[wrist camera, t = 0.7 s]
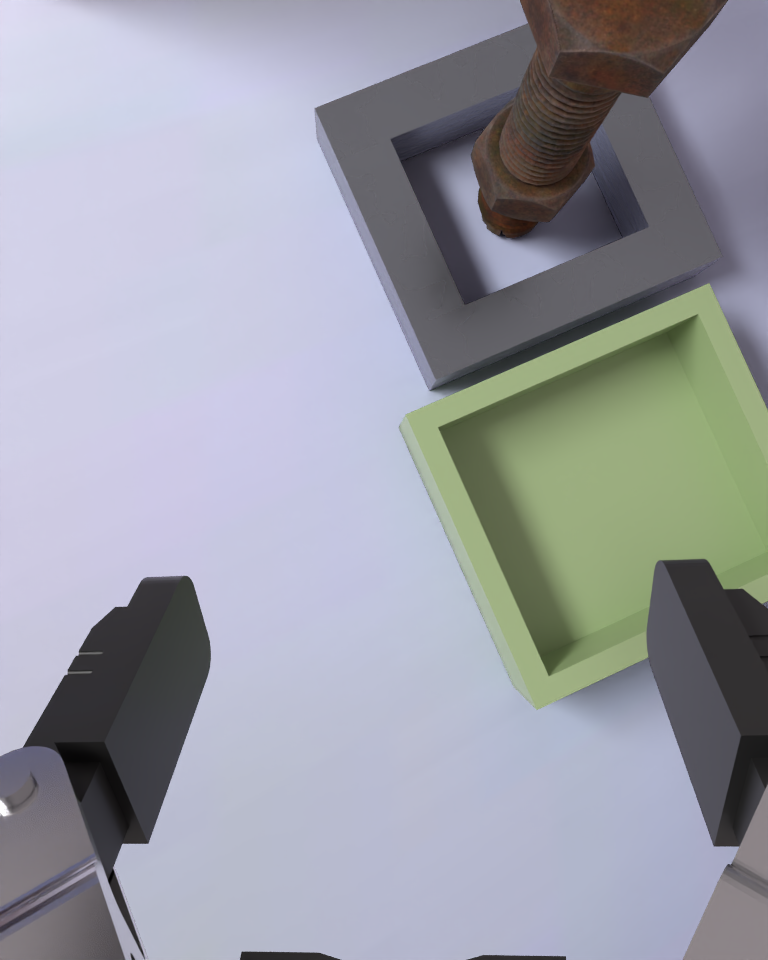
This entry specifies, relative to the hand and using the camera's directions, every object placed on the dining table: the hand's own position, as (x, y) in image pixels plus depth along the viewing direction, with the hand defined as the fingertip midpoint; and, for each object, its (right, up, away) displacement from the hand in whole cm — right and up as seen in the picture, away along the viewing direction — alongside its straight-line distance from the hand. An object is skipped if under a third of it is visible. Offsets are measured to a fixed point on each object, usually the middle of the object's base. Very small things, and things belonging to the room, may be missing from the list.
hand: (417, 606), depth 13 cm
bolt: (+5, +15, +22) cm, 27 cm away
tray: (+9, +2, +21) cm, 23 cm away
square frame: (+5, +15, +22) cm, 27 cm away
